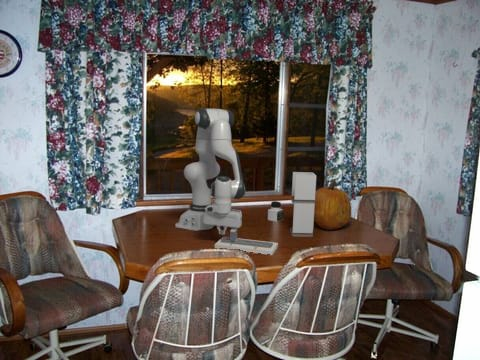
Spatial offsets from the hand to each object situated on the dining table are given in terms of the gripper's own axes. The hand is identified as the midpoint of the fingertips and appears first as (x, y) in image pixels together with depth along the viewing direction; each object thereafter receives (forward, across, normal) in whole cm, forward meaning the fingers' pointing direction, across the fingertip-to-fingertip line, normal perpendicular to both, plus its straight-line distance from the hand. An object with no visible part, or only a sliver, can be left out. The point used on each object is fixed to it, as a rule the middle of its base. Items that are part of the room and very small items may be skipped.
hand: (222, 234), depth 234 cm
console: (+6, -13, 0) cm, 15 cm away
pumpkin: (+6, -50, -55) cm, 75 cm away
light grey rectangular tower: (+6, -36, -35) cm, 51 cm away
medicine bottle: (+6, -16, -59) cm, 62 cm away
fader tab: (+3, -6, 0) cm, 7 cm away
